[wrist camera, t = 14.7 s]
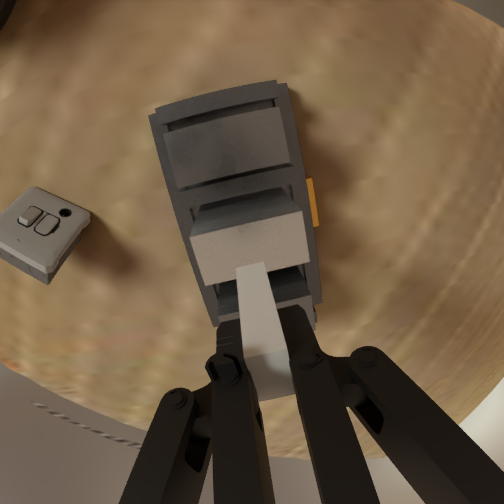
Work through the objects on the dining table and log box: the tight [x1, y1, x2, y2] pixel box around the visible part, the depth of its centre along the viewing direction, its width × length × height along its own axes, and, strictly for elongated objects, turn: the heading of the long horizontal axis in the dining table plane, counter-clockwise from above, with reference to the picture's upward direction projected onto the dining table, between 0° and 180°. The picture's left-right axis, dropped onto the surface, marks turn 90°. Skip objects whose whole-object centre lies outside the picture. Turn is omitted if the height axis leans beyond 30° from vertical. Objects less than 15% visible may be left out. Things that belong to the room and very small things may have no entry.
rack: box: [148, 80, 322, 331], centre depth 26 cm, size 24×14×9 cm, turn 12°
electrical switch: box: [0, 187, 90, 285], centre depth 24 cm, size 9×5×9 cm, turn 63°
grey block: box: [189, 187, 310, 286], centre depth 25 cm, size 4×8×9 cm, turn 102°
